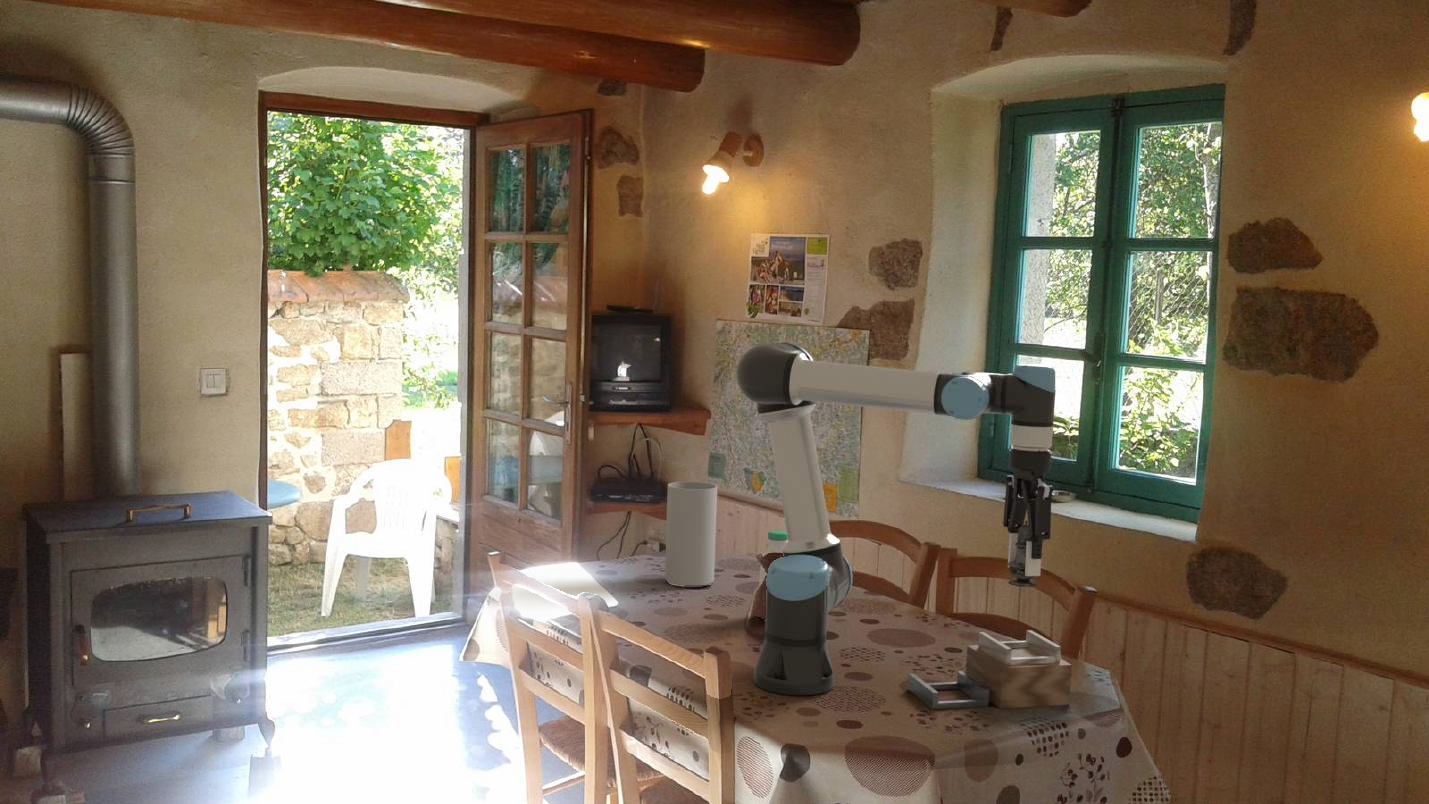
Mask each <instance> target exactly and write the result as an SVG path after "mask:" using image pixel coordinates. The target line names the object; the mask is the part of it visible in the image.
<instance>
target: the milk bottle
mask: <svg viewBox="0 0 1429 804" xmlns="http://www.w3.org/2000/svg"><path fill="white" fill-rule="evenodd" d="M767 538H768V539H767V541H768V547H767V549H766V551H765V554H764V555H766V554H768V553H772V552H783V548H784V547H785V545H786V544H787V542H788V535H787V530H786V531H785V530H777V529H775V530H768V532H767ZM759 567H760V568H759V580H758V581H759V583H758V587H759V586H760V585H761V584H762V582H763V580H764V578H765V576H766V572H765V569H764V568H763V567H762V565H761V564H760V566H759Z"/></svg>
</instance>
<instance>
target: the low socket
mask: <svg viewBox="0 0 1429 804" xmlns="http://www.w3.org/2000/svg"><path fill="white" fill-rule="evenodd" d="M956 675H957V676H956V677H957V679H956V681H947V682H946V681H944V682H943V681H942V682H925V681H924V680H923V679H921V678H920V677H919V676H918V675H916V674H915V673H908V678H907V679H908V681H907V683H908V684H907V690H908V691H909V692H911V693H912V694H913V695H914V696H916V697H917V698H918V699H920V701H922V703H924V704H926V705H927V706H928V707H929V708H930V709H932V710H941V709H942V710H944V709H961V708H978V707H979V708H980V707H989V703H990V701H989V689H987V688H986V687H984V686H983V685H981V684H980V683H979V682H977V681H976V680H974V679H973V678H971V677H970V676H968V675H967V674H966V672H964V671H961V670H960V671H957V674H956ZM954 689H956V690H958V689H959V690H961V692H963V693H964V694H966V695H967V696H969V698H971V699H963V700H962V699H959V700H958V699H957V700H940V701H939V692H938V690H940V691H941V690H954Z"/></svg>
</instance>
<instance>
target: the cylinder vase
mask: <svg viewBox="0 0 1429 804" xmlns="http://www.w3.org/2000/svg"><path fill="white" fill-rule="evenodd" d="M666 498H667V499H666V531H665V532H666V533H665V534H666V536H665V562H664V567H665V568H664V580H665V579H666V580H667V581H668V582H671V583H673V584H678V585H706V584H709V583H711V582H713V581H714V582H715V563H716V562H715V561H716V534H717V533H716V531H717V508H718V507H717V506H718V504H717V503H718V485H716V484H715V483H712V482H711V483H708V482H702V481H701V482H700V481H674V482H670V483H668V484H667V497H666ZM714 582H713V583H714Z"/></svg>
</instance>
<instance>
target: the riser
mask: <svg viewBox="0 0 1429 804" xmlns="http://www.w3.org/2000/svg"><path fill="white" fill-rule="evenodd" d="M1025 632H1026V634H1025V640H1010V641H1006V640H1004V641H999V639H998V640H997V639H996V638H995V637H993V636H991V635H989V634H988V633H986V632H984V631H979V632H978V643H977V644H975V645H967V647H966V665H965V666H966V667H965V673H966V674H967V675H968V676H970V677H971V678H973V679H974V680H976V681H977V682H979V683H980V684H981V685H983V686H984V687H986V688H987V689H989V703H991V704H992V705H994V706H996V707H997V708H999V709H1013V708H1014V709H1016V708H1017V709H1018V708H1019V709H1020V708H1032V707H1033V708H1034V707H1035V708H1036V707H1052V706H1053V707H1054V706H1070V699H1071V698H1070V697H1071V685H1072V684H1071V683H1072V682H1071V681H1072V680H1071V679H1072V666H1073V664H1071V663H1070V662H1067V661H1066V660H1064V659H1062V658H1061V657H1062V656H1061V655H1062V654H1061V653H1062V646H1060V645H1059V644H1057V643H1055V642H1053V641H1051V640H1049V639H1048V638H1046V637H1044V636H1042V635H1040V634H1039V633H1037V632H1035V631H1033V630H1032V629H1030V630H1026V631H1025Z"/></svg>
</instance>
